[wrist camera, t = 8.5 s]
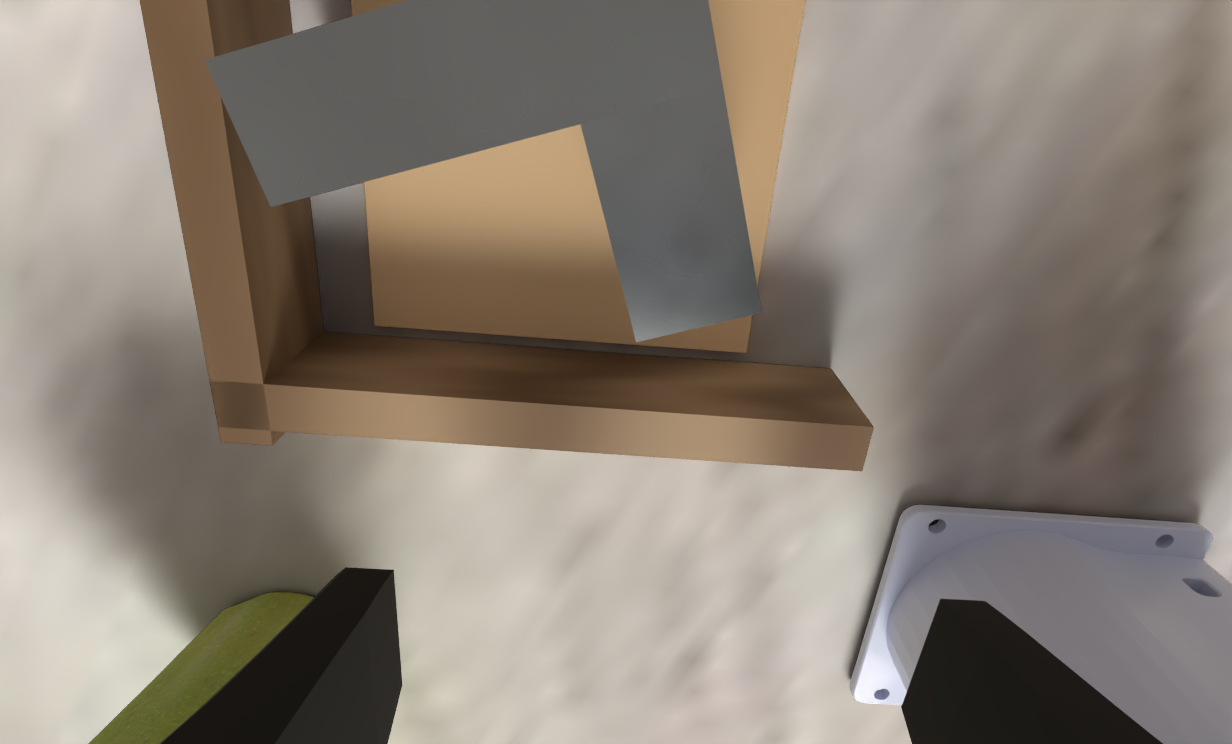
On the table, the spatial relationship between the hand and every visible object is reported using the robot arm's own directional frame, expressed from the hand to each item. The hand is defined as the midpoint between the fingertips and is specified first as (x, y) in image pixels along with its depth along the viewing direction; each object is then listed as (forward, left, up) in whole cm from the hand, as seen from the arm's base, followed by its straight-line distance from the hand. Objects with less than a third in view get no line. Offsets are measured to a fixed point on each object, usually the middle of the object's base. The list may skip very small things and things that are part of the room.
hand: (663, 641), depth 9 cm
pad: (+2, -4, -10) cm, 12 cm away
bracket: (+3, -5, -10) cm, 12 cm away
